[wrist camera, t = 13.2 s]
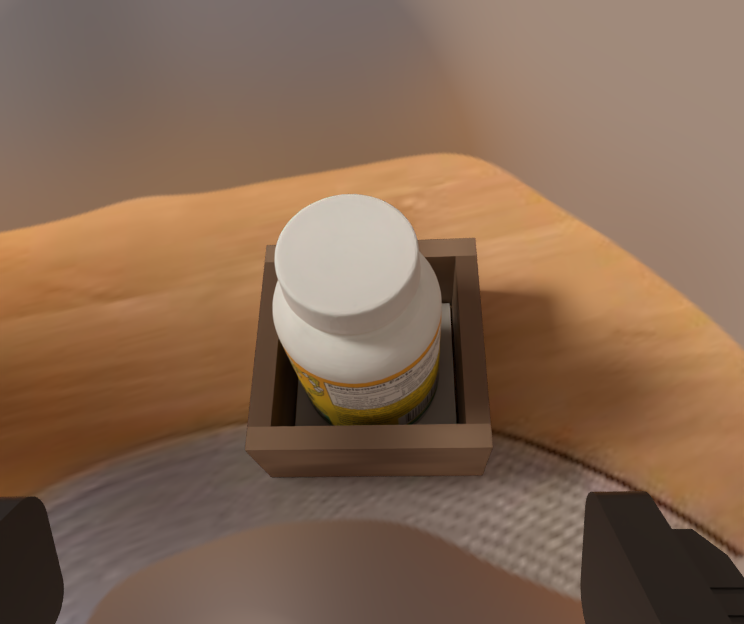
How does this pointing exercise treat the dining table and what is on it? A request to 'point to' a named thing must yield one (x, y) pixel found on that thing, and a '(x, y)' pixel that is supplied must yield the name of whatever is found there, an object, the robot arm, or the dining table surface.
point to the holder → (380, 442)
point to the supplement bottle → (358, 311)
